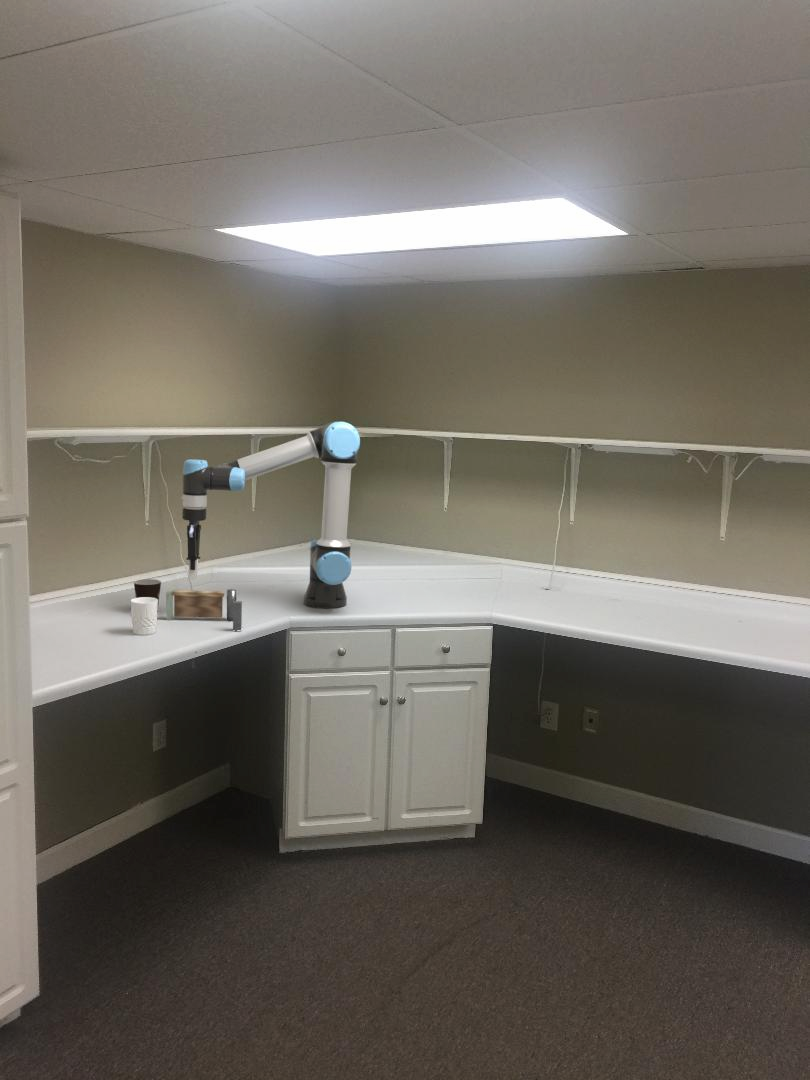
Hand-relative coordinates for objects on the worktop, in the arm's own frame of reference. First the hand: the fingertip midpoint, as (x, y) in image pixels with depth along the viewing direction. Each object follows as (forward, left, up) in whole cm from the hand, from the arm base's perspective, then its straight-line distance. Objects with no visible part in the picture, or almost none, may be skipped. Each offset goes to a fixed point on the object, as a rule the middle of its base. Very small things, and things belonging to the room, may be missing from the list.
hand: (193, 578), depth 283 cm
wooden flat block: (-3, +7, -11) cm, 13 cm away
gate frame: (-5, +13, -12) cm, 18 cm away
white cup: (+11, +23, -12) cm, 28 cm away
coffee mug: (+15, -4, -12) cm, 19 cm away
